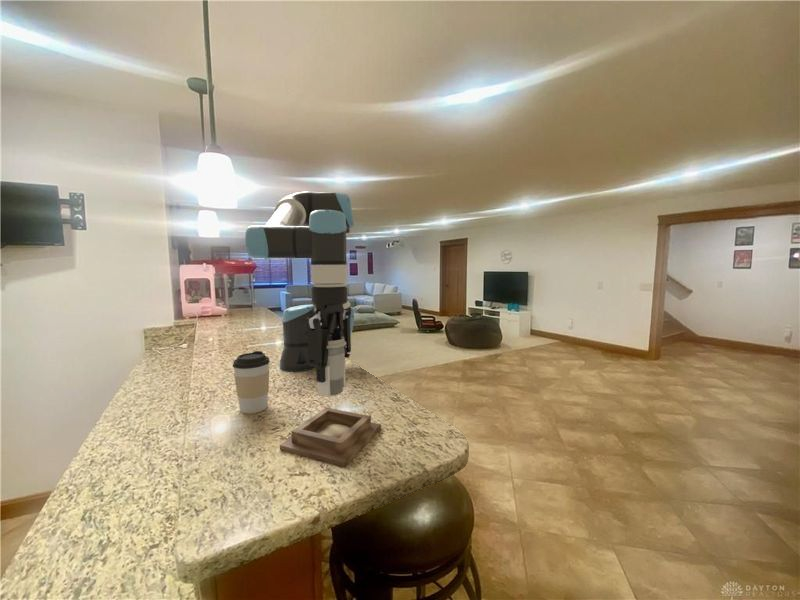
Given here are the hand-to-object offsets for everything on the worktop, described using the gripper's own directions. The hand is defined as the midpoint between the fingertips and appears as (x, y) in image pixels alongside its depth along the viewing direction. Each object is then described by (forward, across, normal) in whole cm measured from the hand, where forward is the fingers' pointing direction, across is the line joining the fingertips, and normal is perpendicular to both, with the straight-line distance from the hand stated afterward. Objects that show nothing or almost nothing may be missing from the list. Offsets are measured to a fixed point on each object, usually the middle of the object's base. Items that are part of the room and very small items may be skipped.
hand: (332, 390), depth 71 cm
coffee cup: (+11, -5, -29) cm, 32 cm away
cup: (0, 0, 0) cm, 0 cm away
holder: (+11, 0, 0) cm, 11 cm away
